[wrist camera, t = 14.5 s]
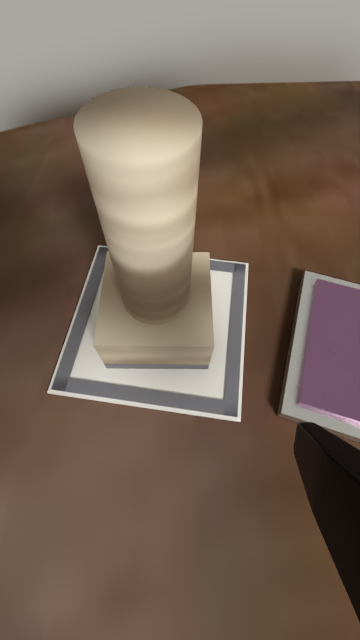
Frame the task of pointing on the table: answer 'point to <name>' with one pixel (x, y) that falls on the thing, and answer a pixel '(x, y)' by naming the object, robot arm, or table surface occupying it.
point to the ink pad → (324, 357)
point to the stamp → (148, 228)
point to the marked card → (161, 384)
